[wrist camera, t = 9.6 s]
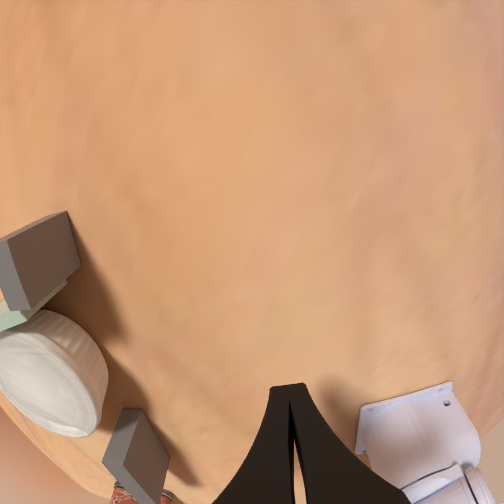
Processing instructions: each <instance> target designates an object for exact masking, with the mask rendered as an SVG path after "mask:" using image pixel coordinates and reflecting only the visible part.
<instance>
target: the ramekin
mask: <svg viewBox="0 0 504 504" xmlns="http://www.w3.org/2000/svg"><path fill="white" fill-rule="evenodd" d="M108 380H109V376H108V369H107V364H106V362H105V359H104V357H103V355H102V353H101V351H100V349H99V347H98V346H97V344H96V343H95V342H94V340H93V339H92V338H91V337H90V335H89V334H88V333H87V332H86V331H85V330H84V329H83V328H81V327H80V326H79V325H78V324H76V323H75V322H74V321H72V320H71V319H69V318H68V317H66V316H64V315H61V314H59V313H56V312H53V311H48V310H41V309H39V310H38V311H37V312H36V313H35V314H34V315H33V316H32V317H31V318H30V319H29V320H28V321H26V322H23V323H21V324H18V325H16V326H13V327H11V328H8V329H6V330H3V331H1V332H0V389H1V391H2V392H3V393H4V395H5V396H6V397H7V398H8V399H9V400H10V402H11V403H12V404H13V405H14V406H15V407H16V408H17V409H18V410H20V411H21V412H22V413H23V414H24V415H25V416H27V417H28V418H29V419H31V420H32V421H34V422H35V423H37V424H38V425H40V426H42V427H43V428H45V429H47V430H49V431H52V432H54V433H57V434H60V435H63V436H67V437H73V438H81V437H86V436H89V435H90V434H92V433H93V432H94V431H95V430H96V429H97V427H98V425H99V423H100V420H101V416H102V405H103V402H104V398H105V394H106V391H107V387H108Z"/></svg>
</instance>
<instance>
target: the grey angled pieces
mask: <svg viewBox="0 0 504 504" xmlns="http://www.w3.org/2000/svg"><path fill="white" fill-rule="evenodd" d="M81 266H82V264H81V261H80V258H79V254H78V251H77V248H76V244H75V241H74V237H73V234H72V230H71V226H70V222H69V219H68V215H67V211H64V212H60V213H56V214H53V215H49V216H46V217H44V218H41V219H39V220H37V221H35V222H33V223H31V224H29V225H27V226H25V227H22V228H20V229H18V230H16V231H14V232H12V233H10V234H8V235H6V236H5V237H3V238H1V239H0V288H1V290H2V293H3V296H4V298H5V301H6V303H7V305H8V308H9V310H10V311H22V310H32V309H33V308H34V307H35V306H36V305H37V304H38V303H39V302H40V301H42V300H43V299H44V298H45V297H46V296H47V295H48V294H49V293H51V292H52V291H53V290H54V289H55V288H56V287H57V286H58V285H60V284H61V283H62V282H63V281H64V280H65V279H67V278H68V277H69V276H70V275H71V274H72V273H74V272H75V271H76V270H77V269H78V268H80V267H81ZM169 460H170V457H169V455H168V454H167V452H166V450H165V449H164V447H163V445H162V444H161V442H160V440H159V439H158V437H157V435H156V433H155V432H154V430H153V428H152V426H151V425H150V423H149V421H148V419H147V417H146V415H145V414H144V412H143V410H142V409H123V410H122V413H121V415H120V417H119V420H118V422H117V425H116V427H115V430H114V432H113V434H112V437H111V439H110V442H109V444H108V447H107V449H106V452H105V455H104V457H103V460H102V463H103V464H104V466H105V467H106V468H107V469H108V470H109V472H110V473H111V474H112V475H113V476H114V477H115V478H116V480H117V481H118V482H119V483H120V484H121V485H122V486H123V487H124V488H125V489H126V491H127V492H128V493H129V494H130V495H131V496H132V497H133V498H134V499H135V500H136V501H137V502H138V503H139V504H160V501H161V496H162V492H163V487H164V482H165V478H166V473H167V469H168V464H169Z"/></svg>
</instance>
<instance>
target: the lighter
mask: <svg viewBox="0 0 504 504" xmlns="http://www.w3.org/2000/svg"><path fill="white" fill-rule="evenodd" d="M172 498H173V494H172V492H170V491H168V490H166V489H163V492H162V496H161V501H160V504H170V501H172ZM110 504H139V503H138V502H137V501H136V500H135V499H134V498H133V497H132V496H131V495H130V494H129V493H128V492H127V491H126V489H125V488H124V487H123V486H122V485H121V484H120V483H119V482H118V481H115V484H114V492H113V495H112V498H111V501H110Z"/></svg>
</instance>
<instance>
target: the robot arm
mask: <svg viewBox="0 0 504 504" xmlns="http://www.w3.org/2000/svg"><path fill="white" fill-rule="evenodd" d="M452 387H453V384H452V382H451V381H448V382H445V383H442V384H439V385H436V386H433V387H430V388H427V389H424V390H420V391H417V392H414V393H410V394H407V395H403V396H399V397H396V398H392V399H388V400H384V401H380V402H376V403H372V404H367V405H364V406H362V407H361V408H360V414H359V422H358V431H357V438H356V446H355V454H356V455H361V454H365V453H367V455H368V459H369V462H370V466H371V469H372V470H371V469H370V468H369V467H367V466H366V465H365V464H364V463H363V462H361V461H360V460H359V459H358V458H357V457H356V456H355V455H354V454H353V453H352V452H351V451H350V450H349V449H348V448H347V447H346V446H345V445H344V444H343V443H342V442H341V440H340V439H339V438H338V437H337V436H336V434H335V433H334V432H333V431H332V429H331V428H330V427H329V425H328V424H327V423H326V421H325V420H324V418H323V417H322V415H321V414H320V412H319V411H318V409H317V407H316V406H315V404H314V402H313V400H312V398H311V396H310V394H309V392H308V389H307V387H306V384H304V383H297V384H290V385H282V386H274V387H271V388H270V393H269V399H268V404H267V408H266V411H265V415H264V418H263V421H262V423H261V426H260V429H259V431H258V434H257V436H256V438H255V441H254V443H253V445H252V447H251V449H250V451H249V453H248V455H247V457H246V458H245V460H244V462H243V464H242V465H241V467H240V468H239V470H238V471H237V473H236V474H235V476H234V477H233V479H232V480H231V481H230V483H229V484H228V485H227V487H226V488H225V489H224V490H223V491H222V493H221V494H220V495H219V496H218V497H217V499H216V500H215V501H214V502H213V503H212V504H295V494H294V441H295V445H296V450H297V454H298V458H299V463H300V467H301V472H302V476H303V481H304V486H305V494H306V503H307V504H496V502H495V500H494V497H493V496H492V493H491V491H490V489H489V487H488V485H487V483H486V481H485V479H484V477H483V475H482V474H481V472H480V470H479V468H476V467H477V465H478V463H479V460H480V455H481V446H480V440H479V437H478V434H477V431H476V429H475V427H474V426H473V424H472V422H471V421H470V419H469V417H468V416H467V414H466V412H465V411H464V409H463V408H462V406H461V404H460V403H459V401H458V400H457V398H456V397H455V395H454V393H453V392H452ZM501 504H504V502H502V503H501Z"/></svg>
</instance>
